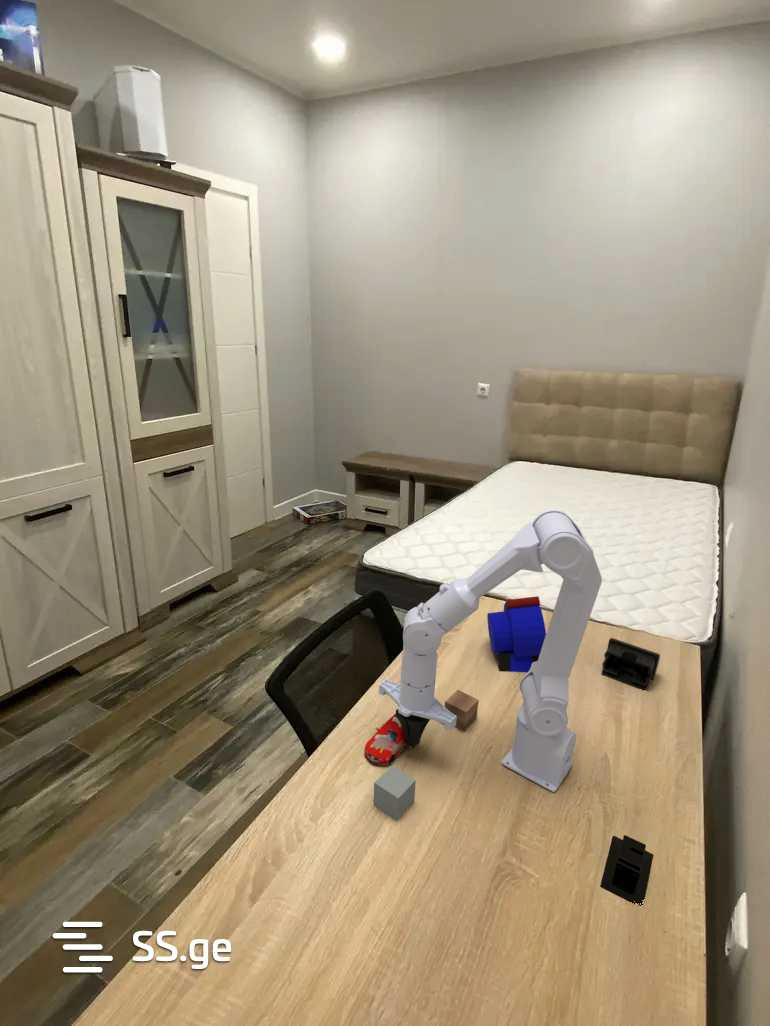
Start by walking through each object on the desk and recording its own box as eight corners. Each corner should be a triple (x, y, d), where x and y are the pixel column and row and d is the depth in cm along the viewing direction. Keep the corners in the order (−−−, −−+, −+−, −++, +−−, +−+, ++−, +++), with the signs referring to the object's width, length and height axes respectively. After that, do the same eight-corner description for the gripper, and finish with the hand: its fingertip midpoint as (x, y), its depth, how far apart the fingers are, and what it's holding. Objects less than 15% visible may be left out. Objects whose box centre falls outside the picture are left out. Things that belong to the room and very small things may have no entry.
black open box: (646, 926, 72) (654, 901, 70) (588, 895, 75) (593, 870, 73) (659, 852, 82) (666, 828, 80) (607, 827, 85) (612, 804, 83)
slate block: (414, 802, 87) (415, 779, 86) (396, 821, 84) (398, 798, 83) (391, 787, 90) (392, 765, 88) (373, 805, 87) (374, 782, 85)
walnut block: (476, 719, 106) (478, 699, 104) (464, 732, 102) (466, 712, 101) (455, 709, 108) (457, 689, 107) (443, 721, 105) (445, 701, 103)
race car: (383, 774, 93) (384, 754, 91) (358, 758, 96) (358, 739, 94) (426, 729, 103) (428, 711, 101) (402, 716, 106) (403, 699, 104)
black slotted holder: (655, 676, 121) (662, 649, 119) (648, 692, 115) (654, 665, 113) (607, 659, 126) (613, 632, 124) (598, 674, 121) (604, 647, 119)
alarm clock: (546, 673, 120) (557, 611, 115) (489, 671, 120) (497, 609, 115) (533, 641, 132) (542, 584, 127) (480, 639, 132) (487, 581, 126)
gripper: (368, 670, 94) (366, 736, 98) (442, 709, 85) (435, 778, 90) (394, 652, 99) (390, 715, 103) (466, 686, 91) (458, 753, 95)
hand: (413, 743), depth 97 cm, fingers closed
